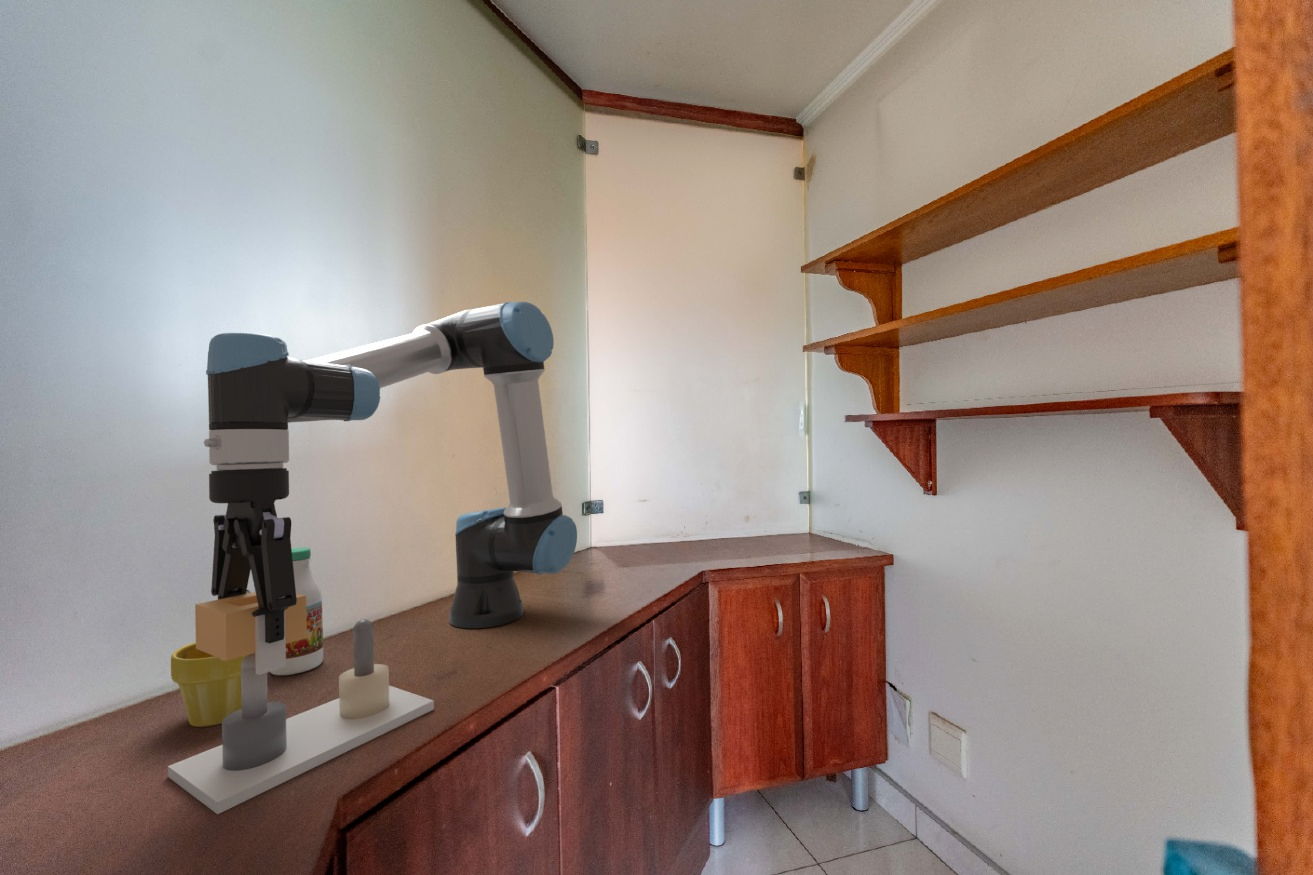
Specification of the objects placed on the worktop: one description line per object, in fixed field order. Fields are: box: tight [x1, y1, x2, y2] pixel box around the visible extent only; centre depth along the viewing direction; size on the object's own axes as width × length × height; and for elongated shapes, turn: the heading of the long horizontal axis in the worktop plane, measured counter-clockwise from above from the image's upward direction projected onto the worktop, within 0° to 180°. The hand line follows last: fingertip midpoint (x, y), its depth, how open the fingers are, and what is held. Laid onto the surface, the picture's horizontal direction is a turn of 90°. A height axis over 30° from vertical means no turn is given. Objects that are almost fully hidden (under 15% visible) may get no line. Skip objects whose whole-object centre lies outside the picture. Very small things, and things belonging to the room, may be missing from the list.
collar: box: [194, 591, 307, 661], centre depth 64 cm, size 8×8×5 cm
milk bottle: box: [269, 547, 324, 676], centre depth 94 cm, size 8×8×20 cm
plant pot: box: [170, 641, 247, 728], centre depth 77 cm, size 10×10×10 cm
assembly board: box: [167, 618, 435, 815], centre depth 69 cm, size 25×13×13 cm, turn 148°
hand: (252, 662), depth 64 cm, fingers closed on collar, 8 cm apart
